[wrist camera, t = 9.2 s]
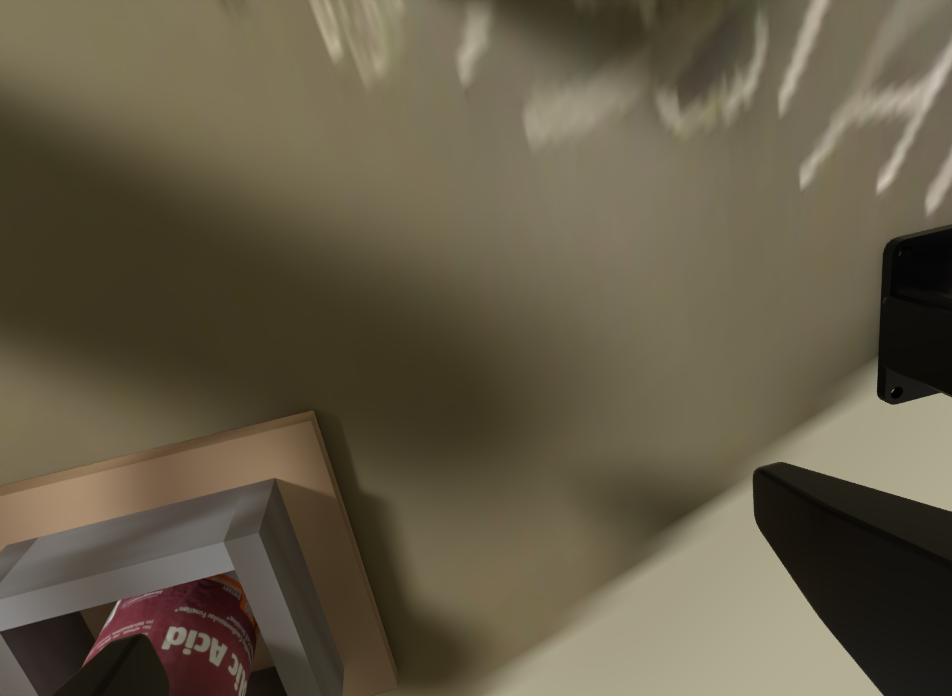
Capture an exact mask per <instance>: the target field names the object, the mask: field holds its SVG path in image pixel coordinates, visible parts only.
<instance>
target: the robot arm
mask: <svg viewBox="0 0 952 696" xmlns="http://www.w3.org/2000/svg"><path fill="white" fill-rule="evenodd" d="M901 248H902V249H903V250H902V253H901V255H900V256H899V255H898V254H899V251H900V250H901ZM893 389H894V391H893V392H892V390H893ZM891 392H892V393H891ZM937 393H943V394H945V395H948V396H950V397H952V224H951V225H947V226H943V227H938V228H934V229H930V230H926V231H922V232H917V233H913V234H909V235H905V236H901V237H897V238H894V239H892V240H891V241H890V242H889V243H888V244H887V245H886V247H885V249H884V253H883V270H882V292H881V314H880V336H879V358H878V380H877V395H878V397H879V398H880V399H881V400H883V401H885V402H887V403H889V404H899V403H903V402H907V401H911V400H914V399H918V398H922V397H926V396H930V395H933V394H937ZM753 499H754V516H755V520H756V523H757V525H758V527H759V529H760V531H761V532H762V534H763V535H764V537H765V538H766V540H767V541H768V543H769V544H770V546H771V547H772V549H773V550H774V551H775V553H776V555H777V556H778V558H779V559H780V561H781V562H782V564H783V565H784V567H785V568H786V569H787V571H788V572H789V574H790V575H791V577H792V578H793V580H794V581H795V583H796V584H797V586H798V587H799V589H800V590H801V592H802V593H803V595H804V596H805V598H806V599H807V601H808V602H809V603H810V605H811V606H812V608H813V609H814V611H815V612H816V613H817V615H818V616H819V618H820V619H821V620H822V621H823V623H824V624H825V625H826V626H827V628H828V629H829V630H830V631H831V632H832V634H833V635H834V636H835V637H836V639H837V640H838V641H839V642H840V643H841V645H842V646H843V647H844V648H845V650H846V651H847V652H848V653H849V654H850V655H851V657H852V658H853V659H854V660H855V662H856V663H857V664H858V665H859V666H860V668H861V669H862V670H863V671H864V673H865V674H866V675H867V676H868V677H869V679H870V680H871V681H872V682H873V683H874V685H875V686H876V687H877V688H878V689H879V691H880V692H881V693H882V694H883V695H884V696H952V512H951V511H947V510H944V509H941V508H937V507H933V506H930V505H927V504H923V503H920V502H917V501H913V500H910V499H907V498H903V497H900V496H896V495H893V494H890V493H886V492H883V491H879V490H876V489H873V488H869V487H866V486H862V485H859V484H856V483H852V482H848V481H845V480H842V479H838V478H835V477H832V476H828V475H825V474H821V473H818V472H815V471H811V470H808V469H804V468H801V467H797V466H794V465H791V464H788V463H784V462H777V463H773V464H769V465H766V466H762V467H758V468H757V469H756V470H755V471H754V473H753ZM169 693H170V683H169V678H168V675H167V672H166V670H165V668H164V666H163V664H162V662H161V660H160V658H159V656H158V654H157V652H156V650H155V648H154V646H153V644H152V642H151V641H150V639H149V637H148V636H146V635H145V634H142V633H137V634H133V635H130V636H126V637H122V638H118V639H115V640H113V641H111V642H109V643H108V644H107V645H106V646H105V647H104V648H103V649H101V650H100V651H99V652H98V653H97V654H96V655H95V656H94V657H93V658H92V659H90V660H89V661H88V662H87V663H86V664H85V665H84V666H83V667H82V668H81V669H79V670H78V671H77V672H76V673H75V674H74V675H73V676H72V677H71V678H70V679H68V680H67V681H66V682H65V683H64V684H63V685H62V686H61V687H60V688H59V689H57V690H56V691H55V692H54V693H53V694H52V695H51V696H169Z"/></svg>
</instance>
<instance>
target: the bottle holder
mask: <svg viewBox="0 0 952 696" xmlns="http://www.w3.org/2000/svg"><path fill="white" fill-rule="evenodd" d="M233 570H235V571H236V573H237V576H238V578H239V581H240V583H241V585H242V588H243V590H244V593H245V595H246V597H247V600H248V602H249V605H250V607H251V609H252V612H253V614H254V617H255V619H256V621H257V624H258V626H259V629H260V631H259V636H258V641H257V645H256V649H255V655H254V659H253V664H252V667H251V672H250V676H249V680H248V685H247V690H246V694H245V696H373V695H376V694H380V693H383V692H387V691H390V690H394V689H397V688H398V671H397V668H396V665H395V661H394V658H393V655H392V652H391V649H390V646H389V643H388V640H387V637H386V633H385V630H384V627H383V624H382V621H381V618H380V615H379V612H378V609H377V606H376V602H375V599H374V596H373V593H372V590H371V587H370V584H369V581H368V578H367V574H366V571H365V568H364V565H363V562H362V559H361V556H360V553H359V550H358V546H357V543H356V540H355V537H354V534H353V531H352V528H351V525H350V522H349V519H348V515H347V512H346V509H345V506H344V503H343V500H342V497H341V494H340V491H339V487H338V484H337V481H336V478H335V475H334V472H333V469H332V466H331V463H330V459H329V456H328V453H327V450H326V447H325V444H324V441H323V438H322V435H321V432H320V428H319V425H318V422H317V419H316V416H315V413H314V410H312V411H308V412H304V413H300V414H296V415H292V416H288V417H283V418H279V419H275V420H271V421H267V422H263V423H259V424H255V425H251V426H246V427H242V428H238V429H234V430H230V431H226V432H222V433H218V434H213V435H209V436H205V437H201V438H197V439H193V440H189V441H185V442H180V443H176V444H172V445H168V446H164V447H160V448H156V449H152V450H147V451H143V452H139V453H135V454H131V455H127V456H123V457H119V458H115V459H110V460H106V461H102V462H98V463H94V464H90V465H86V466H82V467H77V468H73V469H69V470H65V471H61V472H57V473H53V474H49V475H44V476H40V477H36V478H32V479H28V480H24V481H20V482H16V483H11V484H7V485H3V486H0V696H51V695H52V694H53V693H54V692H55V691H56V690H57V689H59V688H60V687H61V686H62V685H63V684H64V683H65V682H66V681H67V680H68V679H70V678H71V677H72V676H73V675H74V674H75V673H76V672H77V671H78V670H79V669H81V668H82V666H83V664H84V662H85V660H86V658H87V656H88V654H89V652H90V651H91V649H92V647H93V646H94V644H95V642H96V640H97V639H98V637H99V635H100V633H101V630H102V629H103V627H104V626H105V623H106V621H107V620H108V618H109V616H110V614H111V612H112V611H113V609H114V607H115V606H116V604H117V602H118V600H122V599H126V598H129V597H133V596H137V595H141V594H145V593H149V592H152V591H156V590H160V589H164V588H168V587H172V586H175V585H179V584H183V583H187V582H191V581H194V580H198V579H202V578H206V577H210V576H214V575H217V574H221V573H225V572H229V571H233Z"/></svg>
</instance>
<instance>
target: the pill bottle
mask: <svg viewBox="0 0 952 696" xmlns="http://www.w3.org/2000/svg"><path fill="white" fill-rule="evenodd" d="M259 631H260V629H259V626H258V624H257V621H256V619H255V617H254V614H253V612H252V609H251V607H250V605H249V602H248V600H247V597H246V595H245V593H244V590H243V588H242V585H241V583H240V581H239V578H238V576H237V573H236V571H235V570H233V571H229V572H225V573H221V574H217V575H214V576H210V577H206V578H202V579H198V580H194V581H191V582H187V583H183V584H179V585H175V586H172V587H168V588H164V589H160V590H156V591H152V592H149V593H145V594H141V595H137V596H133V597H129V598H126V599H122V600H118V602H117V604H116V606H115V607H114V609H113V611H112V612H111V614H110V616H109V618H108V620H107V621H106V623H105V626H104V627H103V629H102V630H101V633H100V635H99V637H98V639H97V640H96V642H95V644H94V646H93V647H92V649H91V651H90V652H89V654H88V656H87V658H86V660H85V662H84V664H83V666H84V665H85V664H86V663H87V662H88V661H89V660H90V659H92V658H93V657H94V656H95V655H96V654H97V653H98V652H99V651H100V650H101V649H103V648H104V647H105V646H106V645H107V644H108V643H109V642H111V641H113V640H115V639H118V638H122V637H126V636H130V635H133V634H137V633H142V634H145V635H146V636H148V637H149V639H150V641H151V642H152V644H153V646H154V648H155V650H156V652H157V654H158V656H159V658H160V660H161V662H162V664H163V666H164V668H165V670H166V672H167V675H168V678H169V683H170V693H169V696H245V694H246V690H247V685H248V680H249V676H250V672H251V667H252V664H253V659H254V655H255V649H256V645H257V641H258V636H259ZM83 666H82V667H83Z"/></svg>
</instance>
